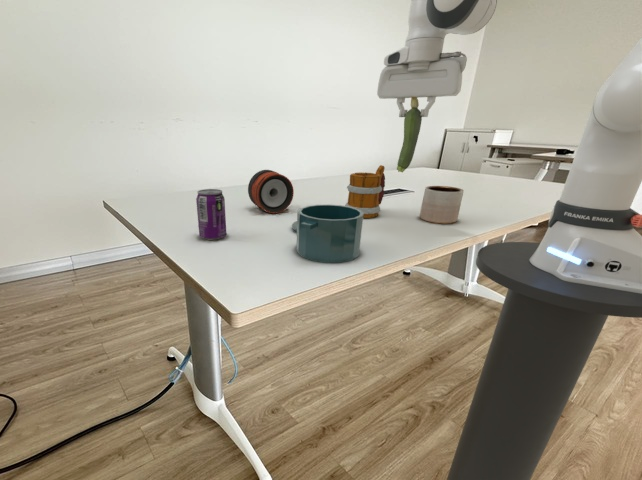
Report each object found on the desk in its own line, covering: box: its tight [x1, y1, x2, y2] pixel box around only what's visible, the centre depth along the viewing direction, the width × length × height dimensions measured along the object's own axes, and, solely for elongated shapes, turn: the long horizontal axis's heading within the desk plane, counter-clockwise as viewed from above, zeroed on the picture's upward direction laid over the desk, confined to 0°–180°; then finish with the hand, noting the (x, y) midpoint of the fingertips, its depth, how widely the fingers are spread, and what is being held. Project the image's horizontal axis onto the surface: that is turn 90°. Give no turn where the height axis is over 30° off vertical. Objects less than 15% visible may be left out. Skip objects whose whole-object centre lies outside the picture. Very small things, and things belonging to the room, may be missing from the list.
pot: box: [295, 204, 364, 264], centre depth 80 cm, size 15×20×10 cm
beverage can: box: [195, 188, 227, 241], centre depth 88 cm, size 7×7×12 cm
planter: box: [419, 185, 465, 225], centre depth 106 cm, size 11×11×10 cm
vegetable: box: [396, 96, 423, 173], centre depth 92 cm, size 4×4×20 cm
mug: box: [344, 164, 386, 219], centre depth 112 cm, size 11×16×15 cm, turn 131°
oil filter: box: [247, 169, 294, 214], centre depth 116 cm, size 13×12×13 cm
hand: (412, 117), depth 91 cm, fingers closed on vegetable, 4 cm apart
